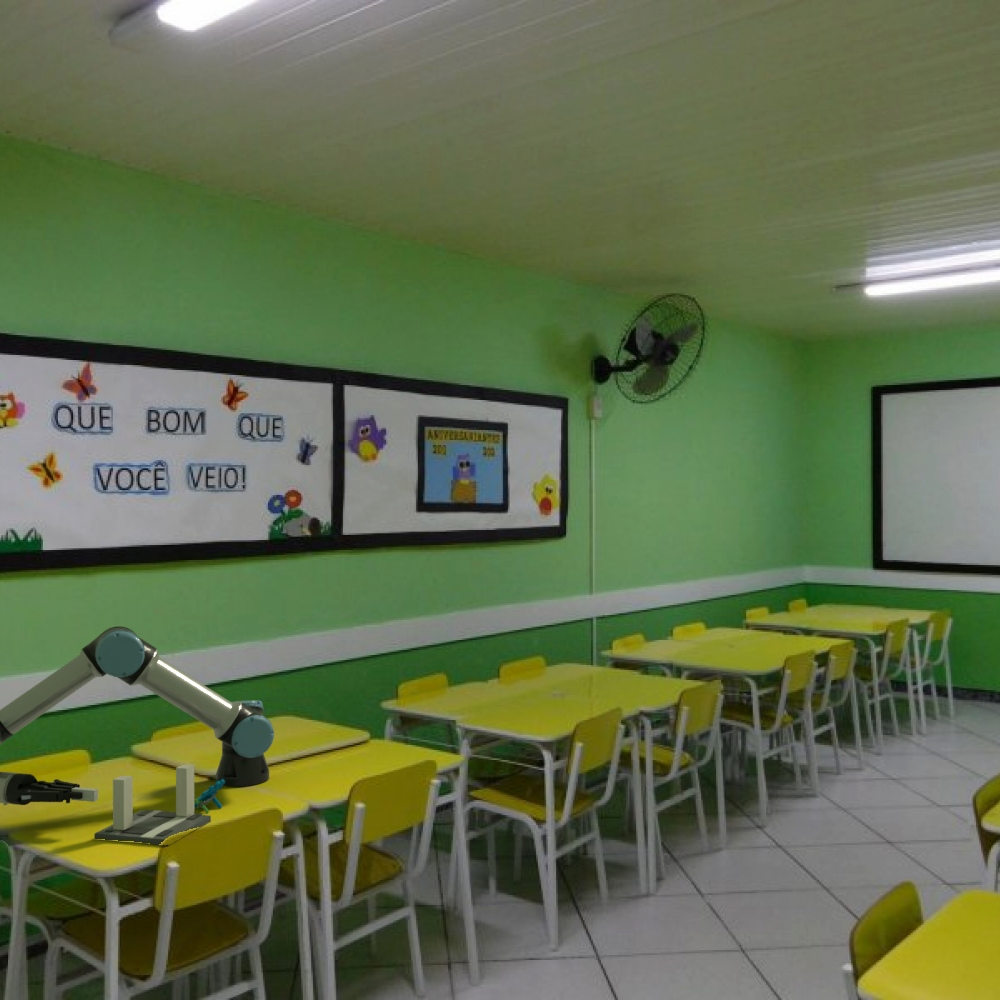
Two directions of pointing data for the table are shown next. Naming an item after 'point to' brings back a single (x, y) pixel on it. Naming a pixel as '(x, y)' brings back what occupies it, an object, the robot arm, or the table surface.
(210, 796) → the blue green branched piece
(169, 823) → the two post plate
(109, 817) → the table surface
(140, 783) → the table surface
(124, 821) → the tab
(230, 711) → the robot arm
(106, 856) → the table surface
